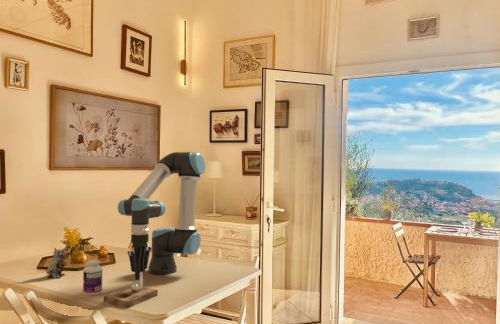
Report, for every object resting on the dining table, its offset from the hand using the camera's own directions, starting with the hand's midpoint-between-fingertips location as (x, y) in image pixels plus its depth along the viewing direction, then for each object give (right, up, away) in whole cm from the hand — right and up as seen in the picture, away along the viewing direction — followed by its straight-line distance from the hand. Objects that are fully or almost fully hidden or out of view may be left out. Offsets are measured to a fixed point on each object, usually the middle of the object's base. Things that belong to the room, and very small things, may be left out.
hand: (139, 286), depth 184 cm
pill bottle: (-21, -4, +2) cm, 22 cm away
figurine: (-50, -3, +28) cm, 57 cm away
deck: (-2, -4, -4) cm, 6 cm away
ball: (0, 0, -1) cm, 1 cm away
